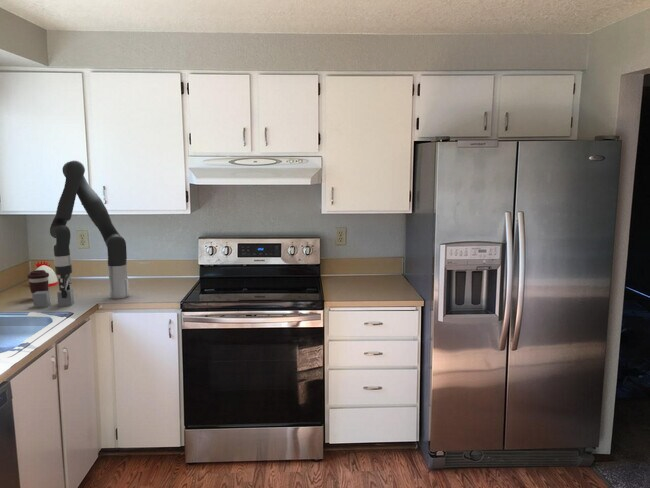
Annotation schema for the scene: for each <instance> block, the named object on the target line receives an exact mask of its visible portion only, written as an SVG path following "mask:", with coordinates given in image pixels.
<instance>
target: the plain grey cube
mask: <svg viewBox="0 0 650 488" xmlns="http://www.w3.org/2000/svg"><path fill="white" fill-rule="evenodd" d="M32 301H33V308H34V309H40V308H42V309H44V308H48V307H49V306H50V305H51V295H50V290H48V291H37V292H35V293H34V294H33V299H32Z"/></svg>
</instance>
